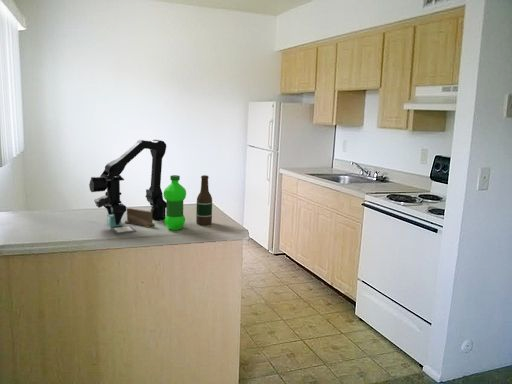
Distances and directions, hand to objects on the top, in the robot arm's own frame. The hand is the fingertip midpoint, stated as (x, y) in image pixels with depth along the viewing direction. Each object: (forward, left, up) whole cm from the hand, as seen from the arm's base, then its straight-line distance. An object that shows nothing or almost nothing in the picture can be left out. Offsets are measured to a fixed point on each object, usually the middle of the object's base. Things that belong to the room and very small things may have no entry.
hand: (114, 222), depth 211 cm
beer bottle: (-39, +17, -2) cm, 43 cm away
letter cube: (0, 0, -1) cm, 1 cm away
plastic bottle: (-23, +18, -1) cm, 29 cm away
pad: (-1, +11, -1) cm, 11 cm away
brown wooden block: (-11, +4, -1) cm, 12 cm away
